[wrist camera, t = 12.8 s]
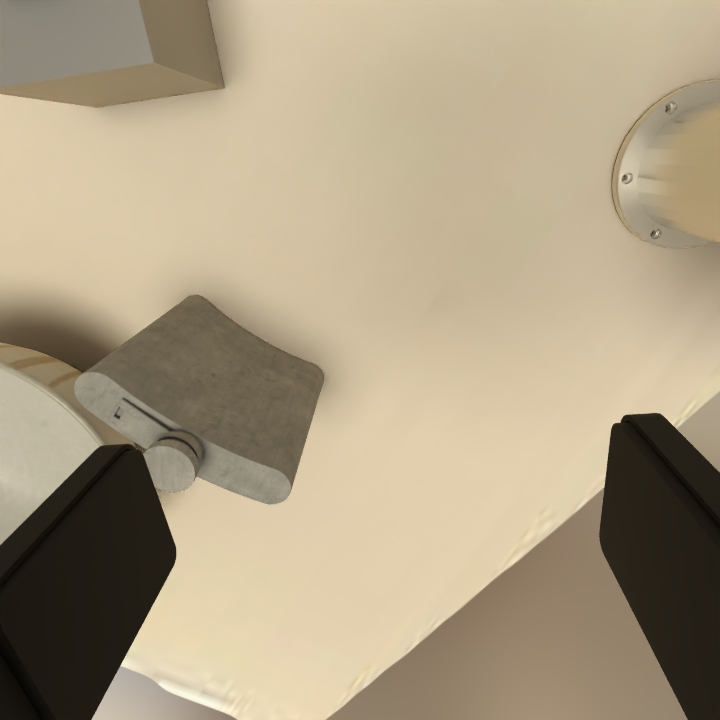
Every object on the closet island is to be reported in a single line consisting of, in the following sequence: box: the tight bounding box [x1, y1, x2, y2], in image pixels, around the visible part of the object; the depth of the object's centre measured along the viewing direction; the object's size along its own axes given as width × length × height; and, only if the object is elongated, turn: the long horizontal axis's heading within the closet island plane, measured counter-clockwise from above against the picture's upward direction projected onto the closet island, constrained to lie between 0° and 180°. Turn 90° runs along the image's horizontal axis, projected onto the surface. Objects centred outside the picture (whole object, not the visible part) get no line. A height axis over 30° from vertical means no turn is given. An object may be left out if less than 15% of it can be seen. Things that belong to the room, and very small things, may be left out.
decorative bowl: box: [0, 343, 136, 545], centre depth 48 cm, size 27×27×12 cm
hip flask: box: [74, 295, 324, 504], centre depth 39 cm, size 16×4×20 cm, turn 57°
